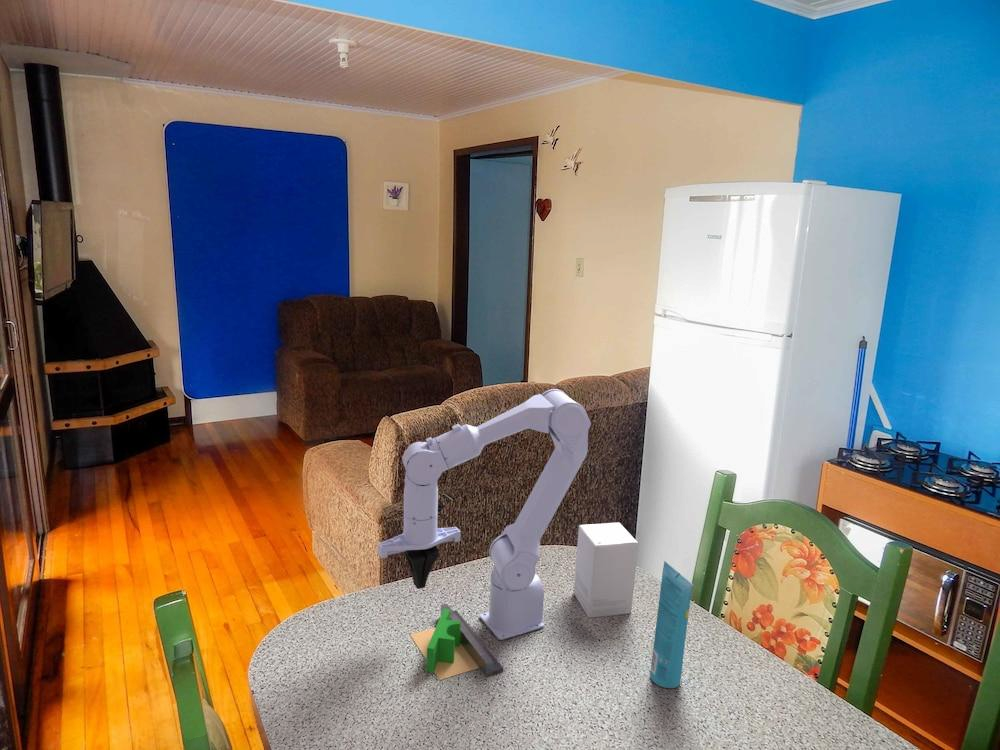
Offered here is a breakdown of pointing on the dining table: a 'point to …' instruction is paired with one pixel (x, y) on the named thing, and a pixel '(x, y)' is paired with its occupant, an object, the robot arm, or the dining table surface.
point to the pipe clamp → (443, 641)
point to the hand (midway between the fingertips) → (419, 585)
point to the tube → (670, 628)
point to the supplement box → (605, 569)
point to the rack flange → (461, 651)
